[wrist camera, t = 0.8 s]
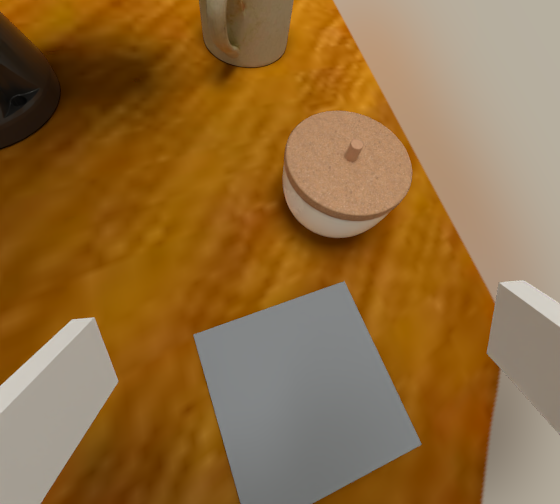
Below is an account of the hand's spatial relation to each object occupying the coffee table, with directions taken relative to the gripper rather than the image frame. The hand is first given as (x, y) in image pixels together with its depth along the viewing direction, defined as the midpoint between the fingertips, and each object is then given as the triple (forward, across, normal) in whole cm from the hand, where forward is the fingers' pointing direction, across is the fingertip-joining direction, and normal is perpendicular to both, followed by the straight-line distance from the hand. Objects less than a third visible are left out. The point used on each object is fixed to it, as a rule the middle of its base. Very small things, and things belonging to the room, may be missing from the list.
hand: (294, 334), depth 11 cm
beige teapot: (+40, -3, +16) cm, 43 cm away
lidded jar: (+24, +4, -2) cm, 24 cm away
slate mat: (+11, 0, -13) cm, 17 cm away
